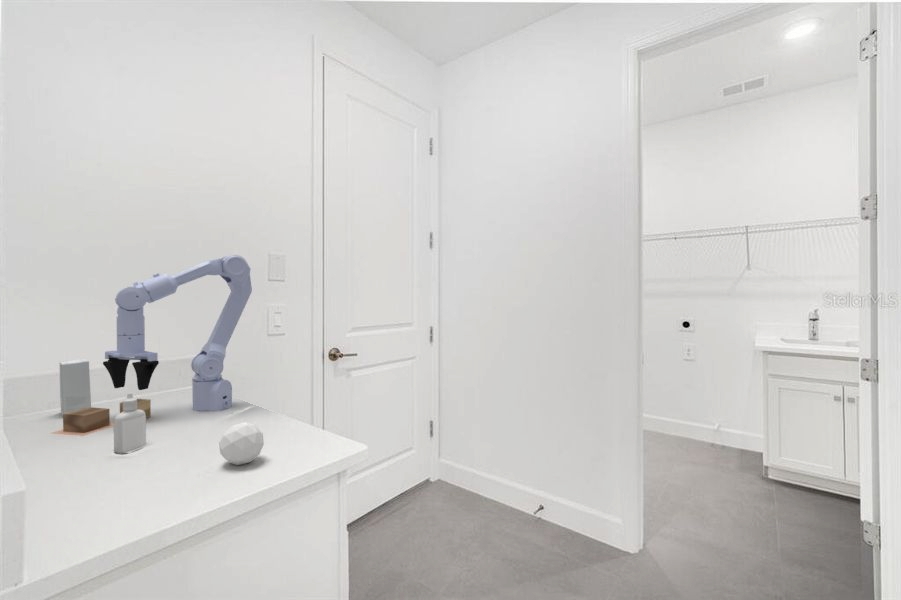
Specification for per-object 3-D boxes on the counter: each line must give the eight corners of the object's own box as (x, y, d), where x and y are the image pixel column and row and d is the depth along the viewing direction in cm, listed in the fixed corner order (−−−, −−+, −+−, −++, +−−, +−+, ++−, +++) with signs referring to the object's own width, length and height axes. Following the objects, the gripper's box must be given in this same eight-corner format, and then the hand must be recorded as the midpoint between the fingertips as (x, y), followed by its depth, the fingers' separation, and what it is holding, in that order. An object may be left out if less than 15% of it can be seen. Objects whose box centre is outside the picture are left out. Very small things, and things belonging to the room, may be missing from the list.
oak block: (150, 416, 114) (150, 399, 113) (134, 421, 109) (134, 403, 109) (136, 415, 114) (135, 398, 114) (119, 420, 110) (119, 402, 110)
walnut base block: (109, 425, 106) (109, 408, 106) (84, 433, 100) (84, 415, 100) (89, 423, 107) (89, 407, 107) (63, 431, 101) (62, 414, 101)
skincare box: (91, 417, 116) (91, 361, 116) (61, 422, 112) (60, 363, 111) (88, 411, 122) (88, 357, 122) (59, 415, 118) (58, 360, 117)
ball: (242, 480, 84) (228, 457, 79) (219, 457, 87) (204, 434, 83) (276, 452, 88) (265, 428, 83) (253, 431, 92) (241, 407, 87)
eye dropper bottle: (148, 449, 92) (148, 392, 92) (115, 456, 88) (114, 397, 88) (144, 444, 95) (143, 389, 95) (112, 451, 91) (111, 393, 91)
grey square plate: (165, 419, 114) (165, 416, 114) (103, 441, 97) (103, 437, 97) (114, 416, 117) (114, 413, 117) (45, 436, 101) (45, 432, 101)
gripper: (92, 335, 109) (92, 390, 109) (139, 337, 105) (139, 393, 106) (120, 332, 116) (120, 384, 116) (164, 334, 112) (165, 387, 112)
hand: (131, 388), depth 111 cm, fingers open, 7 cm apart
